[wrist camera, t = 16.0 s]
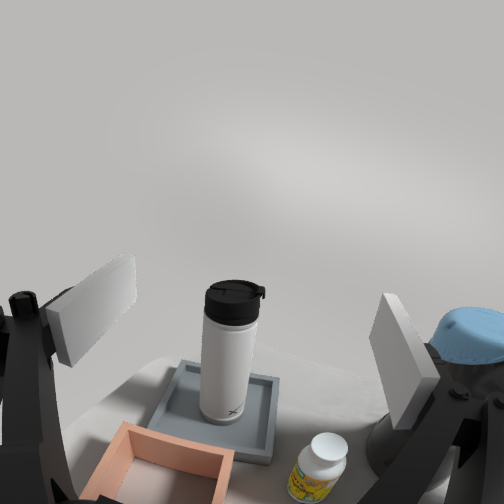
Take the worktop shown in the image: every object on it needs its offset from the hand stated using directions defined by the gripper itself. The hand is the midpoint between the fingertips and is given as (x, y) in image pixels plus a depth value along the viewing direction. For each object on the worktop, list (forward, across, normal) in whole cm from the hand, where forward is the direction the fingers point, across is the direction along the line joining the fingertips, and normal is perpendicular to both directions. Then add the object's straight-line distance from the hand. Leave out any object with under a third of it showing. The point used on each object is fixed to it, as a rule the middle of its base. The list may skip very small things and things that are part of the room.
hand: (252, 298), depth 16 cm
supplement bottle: (+6, +9, -29) cm, 31 cm away
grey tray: (+16, -4, -28) cm, 33 cm away
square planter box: (-1, -7, -28) cm, 29 cm away
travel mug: (+16, -4, -28) cm, 32 cm away
